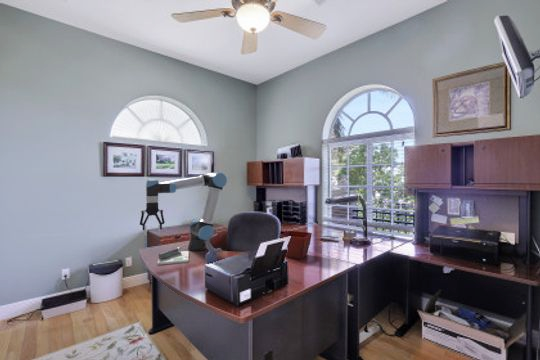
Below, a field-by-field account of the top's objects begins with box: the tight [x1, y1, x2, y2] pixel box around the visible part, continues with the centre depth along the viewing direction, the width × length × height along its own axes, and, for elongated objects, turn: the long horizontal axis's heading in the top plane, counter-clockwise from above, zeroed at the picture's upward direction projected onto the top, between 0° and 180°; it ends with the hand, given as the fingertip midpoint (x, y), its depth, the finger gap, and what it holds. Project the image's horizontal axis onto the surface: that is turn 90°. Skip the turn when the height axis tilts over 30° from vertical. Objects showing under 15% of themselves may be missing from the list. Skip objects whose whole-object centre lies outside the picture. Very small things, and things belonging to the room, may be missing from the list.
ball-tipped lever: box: [158, 246, 182, 260], centre depth 185 cm, size 19×4×4 cm, turn 153°
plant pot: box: [279, 230, 313, 260], centre depth 193 cm, size 19×19×17 cm
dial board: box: [156, 250, 190, 266], centre depth 185 cm, size 20×22×2 cm
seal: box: [204, 233, 223, 264], centre depth 175 cm, size 8×12×20 cm
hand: (152, 234), depth 177 cm, fingers open, 8 cm apart
